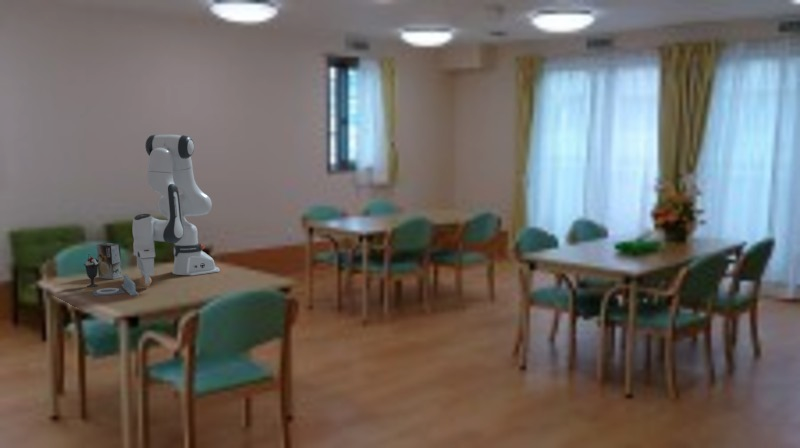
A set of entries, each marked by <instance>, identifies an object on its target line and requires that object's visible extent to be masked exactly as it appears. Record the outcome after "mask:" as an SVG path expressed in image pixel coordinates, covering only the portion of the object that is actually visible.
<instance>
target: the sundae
mask: <svg viewBox="0 0 800 448" xmlns="http://www.w3.org/2000/svg"><path fill="white" fill-rule="evenodd" d="M98 265H99V263H98V258H94V257H93V256H91V255H90V254H88V258H87V261H86V262H85V263H84V264H83V266H84V267H85V271H86V276H87V277H88V278H89V279H90V284H88V285H87V286H86V287H87V288H97V287H99V284H95V281H94V280H95V278H96V277H97V276H98Z"/></svg>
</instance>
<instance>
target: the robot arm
mask: <svg viewBox="0 0 800 448" xmlns="http://www.w3.org/2000/svg"><path fill="white" fill-rule="evenodd" d="M194 143H195V142H194V140H193V139H192V138H191V137H190V136H187V135H184V134H183V135H180V134H172V133H171V134H152V135H149V136H148V137H147V138H146V141H145V145H144V146H145V151H146V153H147V155H148V156H149V157H148V164H147V174H146V181H147V185H148V186H149V188H150V189H151V190H152V191H154V192H155V193H157V194H159V199H158V201H157V208H158V211H159V212H160V214H161V215H163V216H164V217H165V218H166V219H167V220H166V219H158V218H155V217H153V216H152V215H151V214H150V213H141V214H136V215H135V216H134V217H133V219H132V228H131V229H132V237H133V243H132V247H133V249H132V250H133V256H134V257H136V267H137V269H138V270H139V271H140V274H141V277H142V276H145V279H144V280H145V283H149V278H151V277H150V276H153V275H154V272H155V258H156V251H155V242H164V243H169V244H174V245H173V256H174V262H173V269H172V274H173V275H178V276H179V275H180V276H189V277H190V276H192V277H193V276H198V275H205V274H206V275H207V274H213V273H219V272H221V271H220V268H219V267H218V266H216V264H215V261H214V258H213V257H211V256H210V255H209V254H207V253H206V252H205V251H203V250H204V249H205V248H206V246H205V245H204V244H201V243H199V238H198V235H199V234H198V228H197V226H196V225H195V224H193V223H191V222H189V221H188V220H187V218H186V217H199V216H204V215H208V214H209V213H210V212H211V210H212V205H213V204H212V199H211V198H210V196H208V195H207V194H206V193H205V192H203V190H201V189H200V187H199V186H198V185H197V182H196V180H195V175H194V167H193V161H192V155H193V154H194V151H195V144H194ZM179 190H180V191H181V193H179Z"/></svg>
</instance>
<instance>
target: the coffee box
mask: <svg viewBox="0 0 800 448" xmlns="http://www.w3.org/2000/svg"><path fill="white" fill-rule="evenodd" d="M96 253H97V255H96V256H97V260H98V263H99V265H98V270H97V274H98V278H99V279H106V280H107V279H109V280H116V279H119V278H120V279H121V278H122V277H123V275H122V274H123V273H122V257H121V244H120V243H110V242H109V243H108V242H104V243H99V244H96Z"/></svg>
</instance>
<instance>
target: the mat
mask: <svg viewBox="0 0 800 448" xmlns="http://www.w3.org/2000/svg"><path fill="white" fill-rule="evenodd" d="M90 291H91V293H92V294H93V296H94V297H104V296H105V297H106V296H114V295H115V294H116V295H124V293H125V292H126V291H124V290H123V289H122V288H121V287H105V288H99V289H92V290H90ZM125 294H126V293H125Z"/></svg>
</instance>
